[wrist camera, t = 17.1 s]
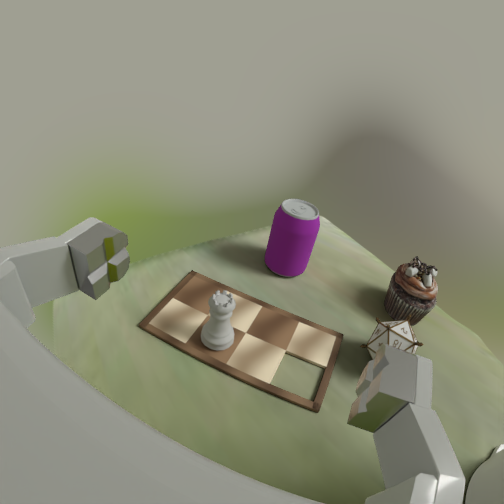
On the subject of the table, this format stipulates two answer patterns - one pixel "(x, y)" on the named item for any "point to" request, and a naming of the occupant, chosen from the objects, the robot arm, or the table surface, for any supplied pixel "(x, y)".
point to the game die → (393, 336)
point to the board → (244, 336)
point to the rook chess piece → (219, 322)
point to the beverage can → (292, 237)
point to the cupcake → (411, 291)
